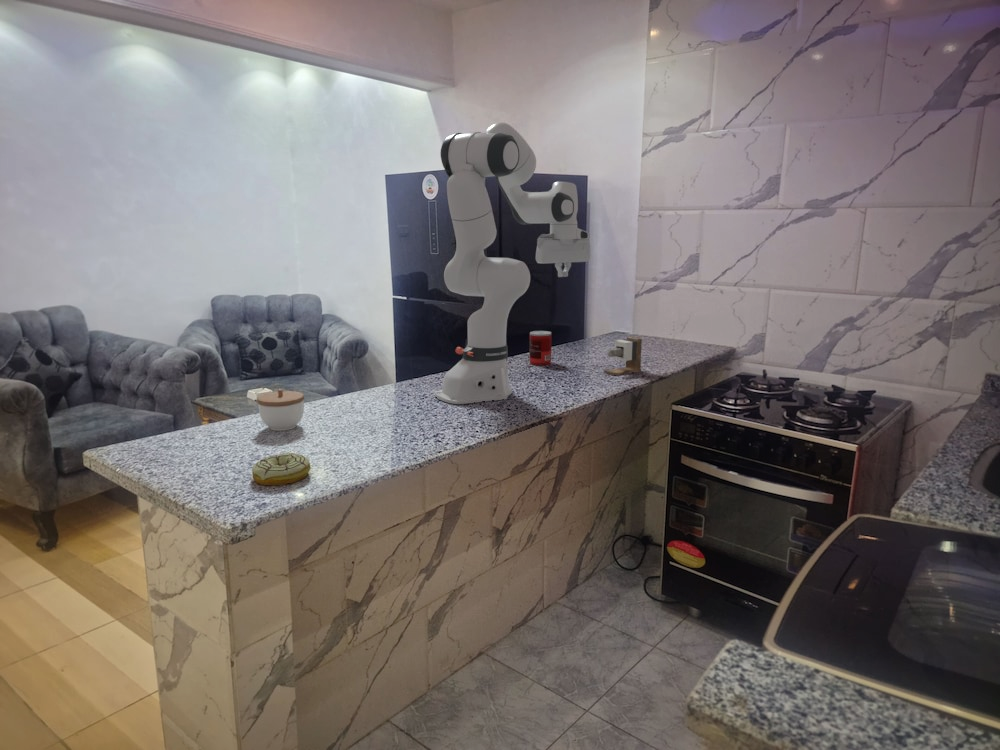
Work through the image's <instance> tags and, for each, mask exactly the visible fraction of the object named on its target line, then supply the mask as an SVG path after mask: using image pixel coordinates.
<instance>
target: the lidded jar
mask: <svg viewBox="0 0 1000 750" xmlns="http://www.w3.org/2000/svg"><path fill="white" fill-rule="evenodd" d="M304 399H305V395H304V393H303V392H300V391H295V390H293V391H292V390H284V391H283V389H281V388H280V389H278V390H277V391H273V392H267V393H263V394H261V395H259V396H258V397H257V399H256V403H257V405H258V412H259V416H260V419H261V420H262V422H263V423H264V425H265V426H267V427H268V428H269V429H270V430H271V431H275V432H277V431H278V432H279V431H280V432H283V431H290V430H292V429H295V428H296V427H297V425H298V424H299V423H300V422H301V420H302V418H303V415H304V412H305V401H304Z"/></svg>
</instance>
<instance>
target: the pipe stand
mask: <svg viewBox="0 0 1000 750" xmlns="http://www.w3.org/2000/svg"><path fill="white" fill-rule="evenodd" d="M626 339H627V340H632V341H637V353H636V359H635V360H629V361H625V367H619V368H613V369H607V370H603V374H605V373H607V374H606V375H609V374H611V375H610V376H613V375H616V376H621V375H620V374H622V375H627V374H626V373H628V374H632V373H631V372H634V373H639V372H638V371H641V372H642V368H641V364H642V363H641V362H642V346H643V345H642V343H643V338H640V337H634V336H628V337H626ZM606 355H607V356H608V358H614V356H621V355H624V348H618V349H614V348H612V349H608V350H607V351H606Z"/></svg>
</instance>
